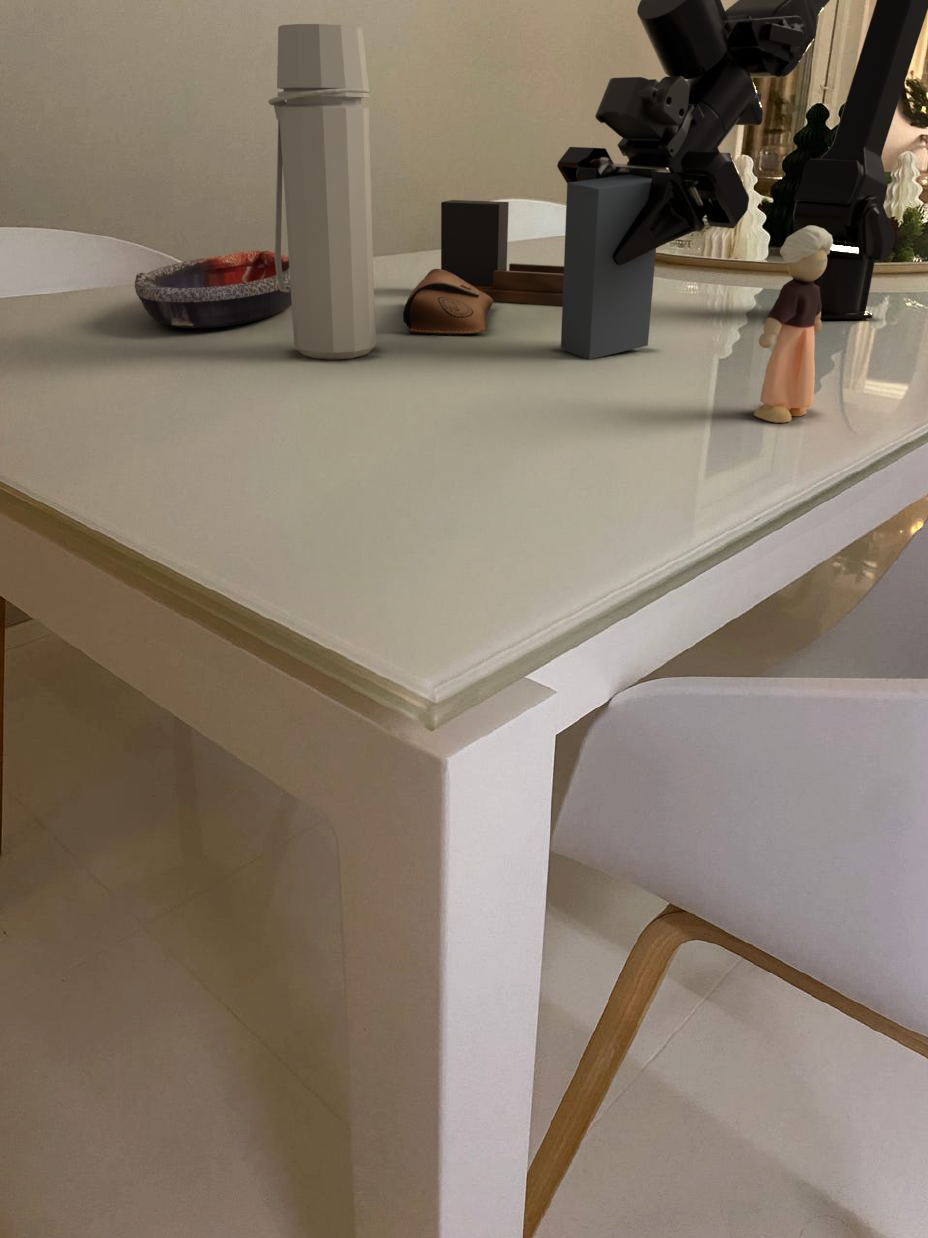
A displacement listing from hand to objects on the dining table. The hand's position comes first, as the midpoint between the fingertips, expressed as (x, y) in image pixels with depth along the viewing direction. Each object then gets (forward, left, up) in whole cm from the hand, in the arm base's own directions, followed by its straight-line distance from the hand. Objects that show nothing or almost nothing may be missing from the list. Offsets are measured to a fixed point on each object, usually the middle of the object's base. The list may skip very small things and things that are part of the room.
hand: (592, 257), depth 87 cm
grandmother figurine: (-9, +22, -8) cm, 25 cm away
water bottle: (+23, -2, -8) cm, 25 cm away
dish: (+33, -24, -8) cm, 42 cm away
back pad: (-2, -1, -8) cm, 8 cm away
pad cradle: (+1, -33, -8) cm, 34 cm away
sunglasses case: (+10, -18, -8) cm, 22 cm away
